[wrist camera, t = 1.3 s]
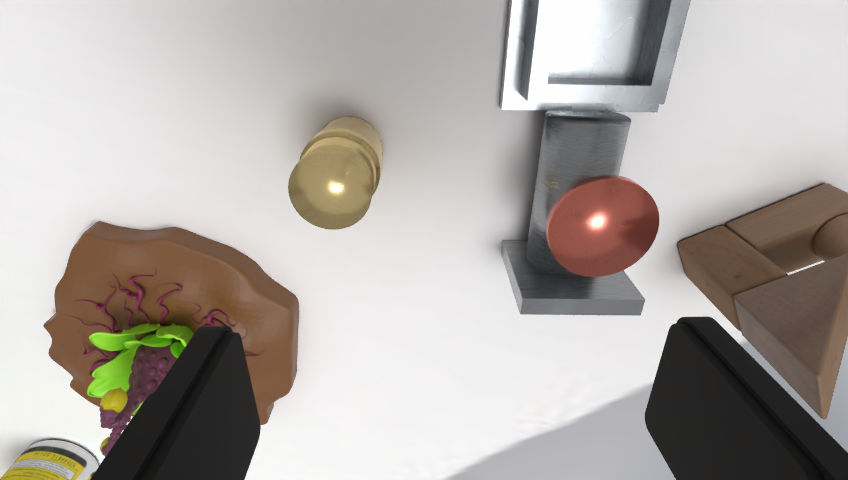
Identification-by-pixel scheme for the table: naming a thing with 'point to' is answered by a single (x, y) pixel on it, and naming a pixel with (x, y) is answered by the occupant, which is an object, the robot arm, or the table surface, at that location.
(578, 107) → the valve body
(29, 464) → the supplement bottle
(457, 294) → the table surface
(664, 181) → the table surface
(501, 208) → the table surface
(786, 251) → the wooden block
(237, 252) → the plant
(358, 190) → the cylinder
